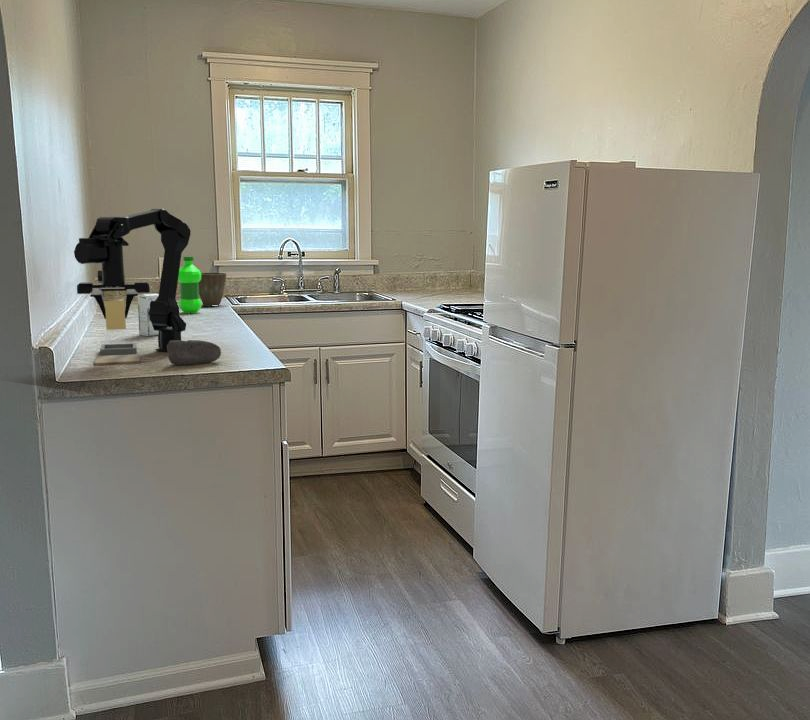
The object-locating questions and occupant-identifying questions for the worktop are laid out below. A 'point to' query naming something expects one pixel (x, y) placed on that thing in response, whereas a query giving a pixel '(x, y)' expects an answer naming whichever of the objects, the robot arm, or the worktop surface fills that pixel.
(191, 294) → the plastic bottle
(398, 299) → the worktop surface
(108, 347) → the hinged window frame
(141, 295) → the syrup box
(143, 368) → the worktop surface
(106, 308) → the block
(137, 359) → the walnut board
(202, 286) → the plant pot
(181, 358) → the perforated stone tool
